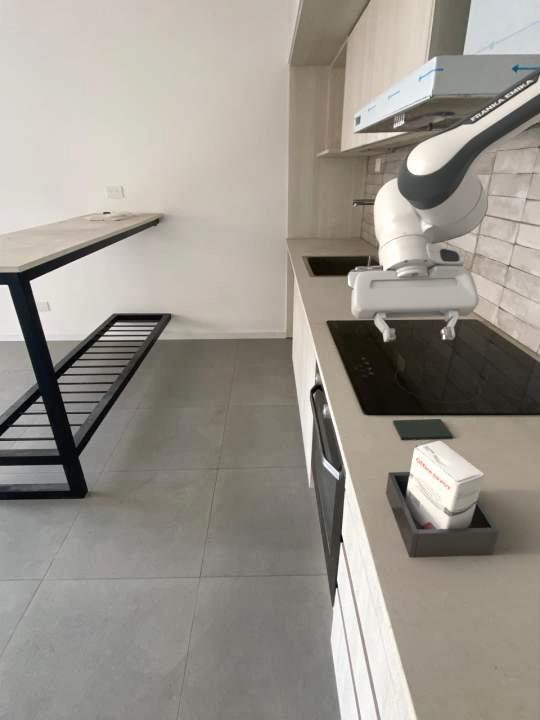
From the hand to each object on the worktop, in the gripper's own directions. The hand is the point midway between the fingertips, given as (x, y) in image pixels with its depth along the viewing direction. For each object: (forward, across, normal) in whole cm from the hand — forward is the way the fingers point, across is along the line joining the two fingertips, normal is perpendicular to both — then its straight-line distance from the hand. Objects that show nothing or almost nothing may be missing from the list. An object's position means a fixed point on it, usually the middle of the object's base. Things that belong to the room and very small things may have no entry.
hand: (419, 339), depth 63 cm
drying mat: (+11, +6, +22) cm, 25 cm away
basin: (+27, 0, +6) cm, 28 cm away
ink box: (+27, 0, +6) cm, 28 cm away
